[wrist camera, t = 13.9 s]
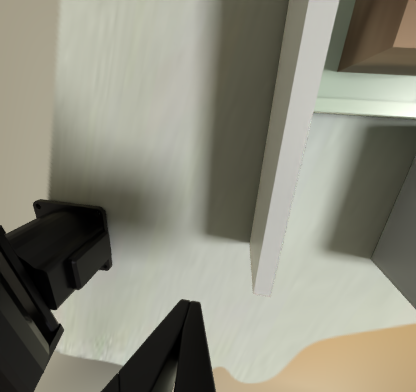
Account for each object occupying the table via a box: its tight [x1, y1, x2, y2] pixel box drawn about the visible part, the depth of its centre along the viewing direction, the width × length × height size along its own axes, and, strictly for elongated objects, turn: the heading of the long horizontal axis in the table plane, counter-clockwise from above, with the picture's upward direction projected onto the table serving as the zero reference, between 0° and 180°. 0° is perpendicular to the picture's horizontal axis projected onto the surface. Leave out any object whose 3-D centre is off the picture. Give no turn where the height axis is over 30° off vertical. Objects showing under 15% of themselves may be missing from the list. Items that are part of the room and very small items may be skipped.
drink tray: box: [250, 0, 416, 297], centre depth 10 cm, size 10×20×5 cm, turn 177°
